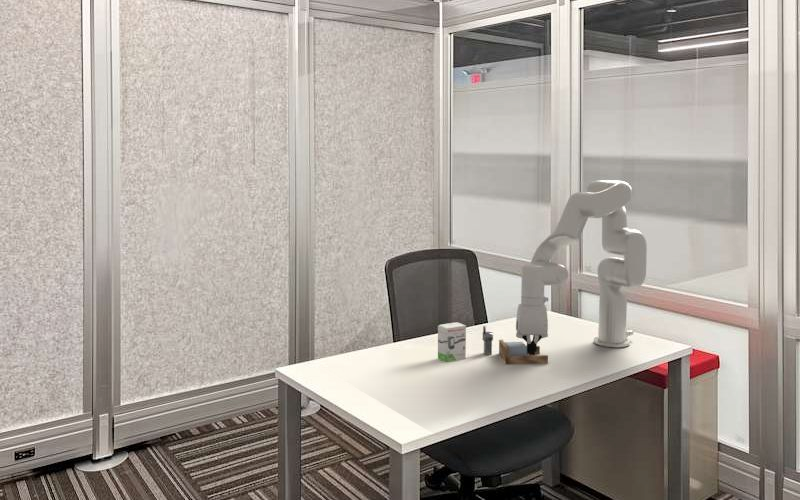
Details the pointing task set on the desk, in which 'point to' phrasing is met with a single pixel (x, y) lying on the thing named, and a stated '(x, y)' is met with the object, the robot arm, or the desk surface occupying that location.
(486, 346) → the winch post
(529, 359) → the bay
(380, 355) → the desk surface
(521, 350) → the blue-grey cube
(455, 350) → the ink box
